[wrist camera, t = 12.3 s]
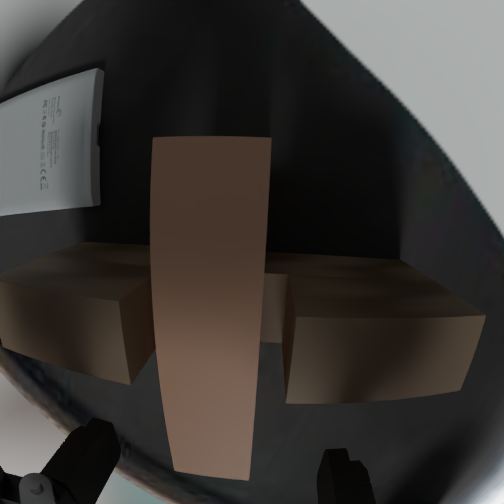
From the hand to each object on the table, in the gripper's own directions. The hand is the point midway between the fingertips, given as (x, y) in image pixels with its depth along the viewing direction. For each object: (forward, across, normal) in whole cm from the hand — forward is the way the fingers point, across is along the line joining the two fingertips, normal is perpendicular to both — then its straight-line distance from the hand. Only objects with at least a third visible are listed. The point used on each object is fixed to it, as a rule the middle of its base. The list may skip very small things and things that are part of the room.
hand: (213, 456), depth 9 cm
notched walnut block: (+8, 0, -4) cm, 9 cm away
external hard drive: (+8, +14, -12) cm, 21 cm away
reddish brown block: (+8, 0, -4) cm, 9 cm away
